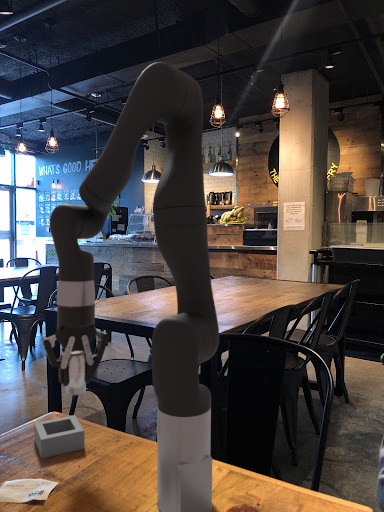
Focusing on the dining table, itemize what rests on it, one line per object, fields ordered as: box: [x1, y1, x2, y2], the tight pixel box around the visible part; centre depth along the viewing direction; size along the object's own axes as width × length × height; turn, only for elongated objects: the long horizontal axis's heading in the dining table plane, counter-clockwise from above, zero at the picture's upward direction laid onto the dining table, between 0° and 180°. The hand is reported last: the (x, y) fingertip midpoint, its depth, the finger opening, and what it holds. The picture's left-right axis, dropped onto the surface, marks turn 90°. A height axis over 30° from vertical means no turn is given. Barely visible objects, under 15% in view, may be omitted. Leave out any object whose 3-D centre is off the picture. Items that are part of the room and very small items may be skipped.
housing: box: [33, 414, 86, 460], centre depth 94 cm, size 9×9×4 cm
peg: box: [65, 350, 87, 396], centre depth 88 cm, size 4×4×8 cm
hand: (75, 383), depth 88 cm, fingers closed on peg, 4 cm apart
